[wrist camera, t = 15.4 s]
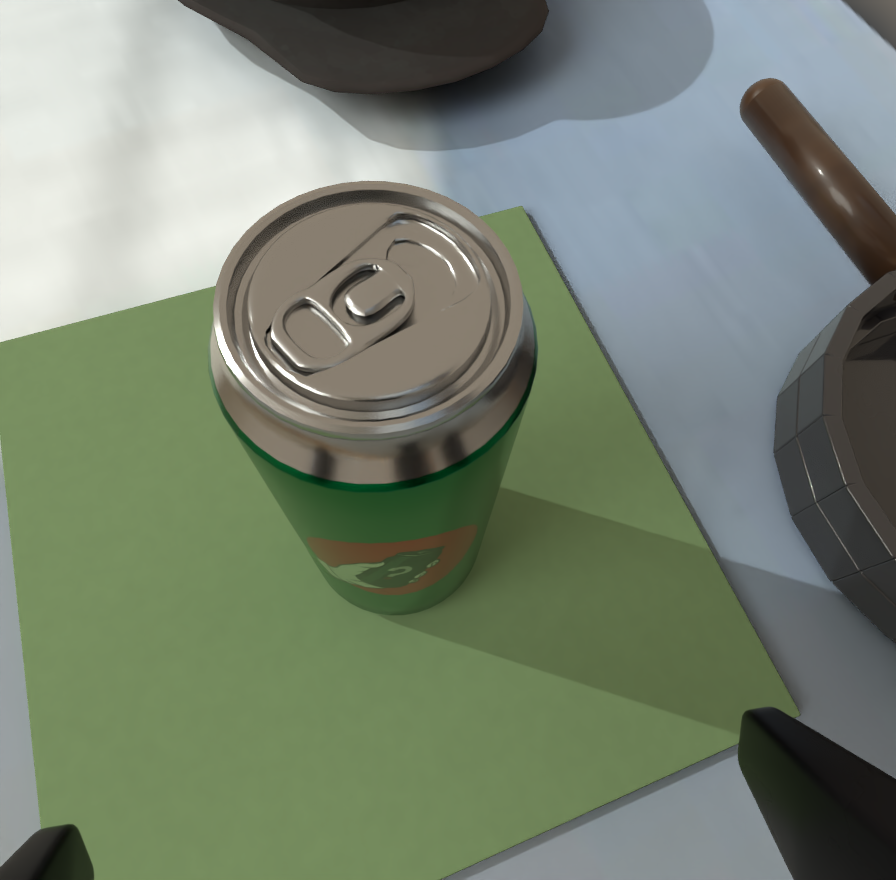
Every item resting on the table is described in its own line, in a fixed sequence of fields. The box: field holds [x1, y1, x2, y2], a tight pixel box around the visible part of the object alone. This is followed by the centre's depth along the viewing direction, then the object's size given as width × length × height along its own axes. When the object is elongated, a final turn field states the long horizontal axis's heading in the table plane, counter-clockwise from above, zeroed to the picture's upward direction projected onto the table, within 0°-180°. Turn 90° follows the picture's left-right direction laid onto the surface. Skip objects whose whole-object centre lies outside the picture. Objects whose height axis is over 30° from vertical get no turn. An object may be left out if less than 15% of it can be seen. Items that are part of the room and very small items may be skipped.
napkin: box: [0, 206, 801, 880], centre depth 20 cm, size 20×20×1 cm
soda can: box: [208, 181, 538, 615], centre depth 14 cm, size 5×5×12 cm
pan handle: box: [740, 78, 896, 301], centre depth 24 cm, size 11×2×2 cm, turn 21°
